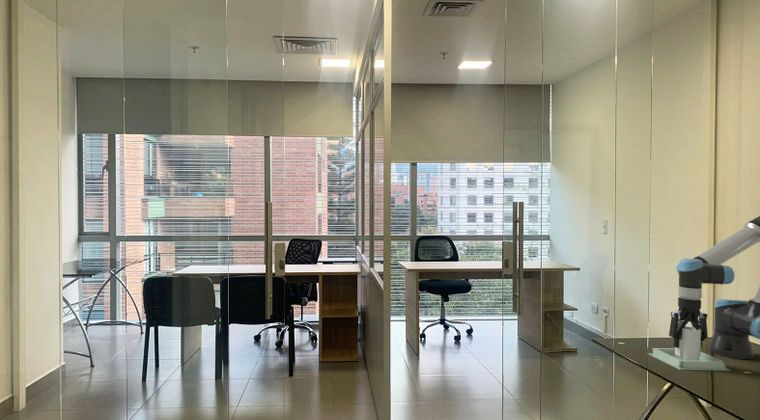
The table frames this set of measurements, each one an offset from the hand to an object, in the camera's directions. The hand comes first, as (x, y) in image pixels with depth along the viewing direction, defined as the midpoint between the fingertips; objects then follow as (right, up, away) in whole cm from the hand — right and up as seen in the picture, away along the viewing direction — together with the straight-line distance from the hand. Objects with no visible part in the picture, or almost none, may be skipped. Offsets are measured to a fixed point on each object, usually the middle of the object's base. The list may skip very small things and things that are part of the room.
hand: (687, 355), depth 177 cm
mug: (+1, -1, 0) cm, 1 cm away
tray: (0, -3, 0) cm, 3 cm away
